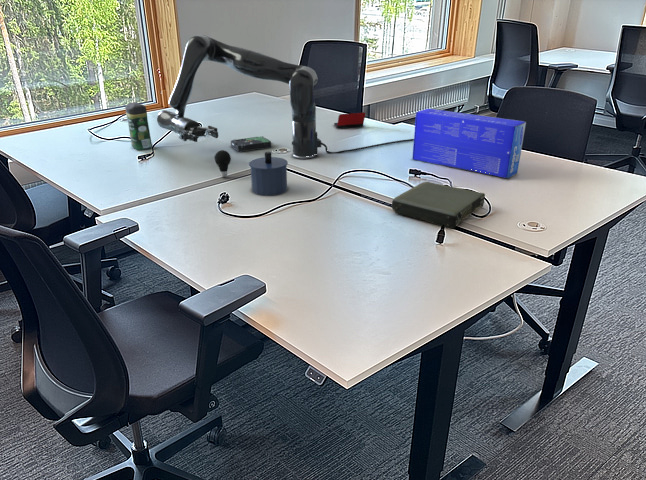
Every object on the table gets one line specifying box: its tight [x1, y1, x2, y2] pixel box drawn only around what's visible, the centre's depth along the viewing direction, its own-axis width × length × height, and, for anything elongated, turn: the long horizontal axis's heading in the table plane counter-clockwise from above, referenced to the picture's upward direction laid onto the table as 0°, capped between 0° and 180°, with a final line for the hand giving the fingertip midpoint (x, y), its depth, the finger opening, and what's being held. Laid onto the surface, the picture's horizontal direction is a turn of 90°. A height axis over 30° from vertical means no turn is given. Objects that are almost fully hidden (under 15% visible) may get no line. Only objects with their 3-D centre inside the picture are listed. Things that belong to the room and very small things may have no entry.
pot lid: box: [248, 151, 289, 170], centre depth 196 cm, size 13×13×5 cm
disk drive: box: [230, 136, 272, 153], centre depth 246 cm, size 10×3×15 cm
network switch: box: [391, 181, 486, 230], centre depth 178 cm, size 23×24×5 cm
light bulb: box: [214, 149, 232, 179], centre depth 211 cm, size 6×6×10 cm
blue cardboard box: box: [412, 108, 527, 179], centre depth 212 cm, size 39×8×18 cm, turn 47°
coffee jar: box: [125, 101, 153, 151], centre depth 247 cm, size 10×8×19 cm
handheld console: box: [333, 112, 366, 130], centre depth 269 cm, size 12×11×7 cm
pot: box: [250, 164, 288, 197], centre depth 199 cm, size 12×12×9 cm
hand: (206, 137), depth 215 cm, fingers open, 8 cm apart
